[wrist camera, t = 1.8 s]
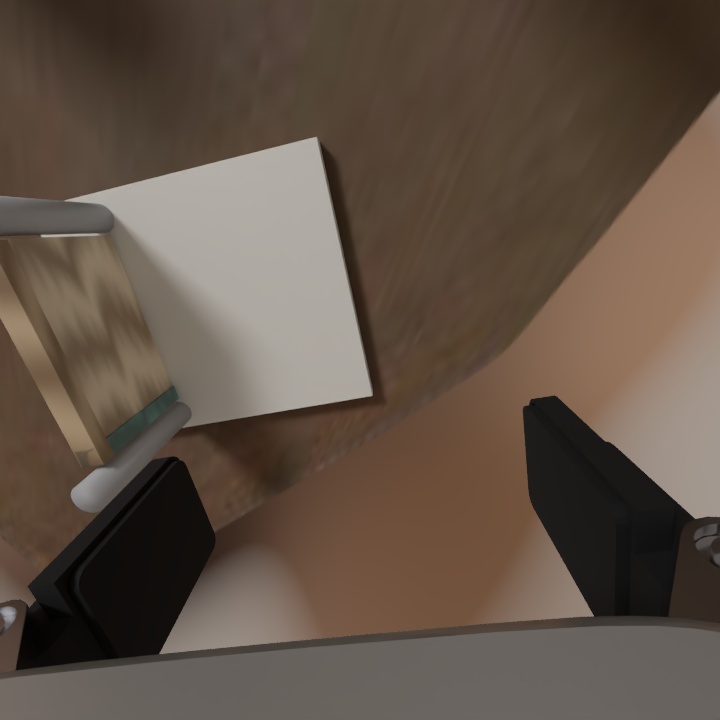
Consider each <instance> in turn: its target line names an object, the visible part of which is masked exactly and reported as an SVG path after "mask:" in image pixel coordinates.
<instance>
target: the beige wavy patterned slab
mask: <svg viewBox="0 0 720 720" xmlns="http://www.w3.org/2000/svg"><path fill="white" fill-rule="evenodd" d="M0 318H1V320H2V322H3V323H4V325H5V327H6V329H7V331H8V333H9V335H10V336H11V338H12V340H13V342H14V344H15V346H16V347H17V349H18V351H19V353H20V355H21V357H22V359H23V360H24V362H25V364H26V366H27V368H28V370H29V371H30V373H31V375H32V377H33V379H34V381H35V383H36V384H37V386H38V388H39V390H40V392H41V394H42V395H43V397H44V399H45V401H46V403H47V405H48V407H49V408H50V410H51V412H52V414H53V416H54V418H55V419H56V421H57V423H58V425H59V427H60V429H61V431H62V432H63V434H64V436H65V438H66V440H67V442H68V443H69V445H70V447H71V449H72V451H73V453H74V455H75V456H76V458H77V460H78V462H79V464H80V466H81V467H82V468H85V467H91V466H97V465H104V464H105V463H106V462H107V461H108V460H110V459H111V458H112V457H113V456H114V455H115V454H116V453H117V452H118V451H119V450H120V449H121V448H122V447H124V446H125V445H126V444H127V443H128V442H129V441H131V440H132V439H133V438H134V437H135V436H136V435H137V434H139V433H140V432H141V431H142V430H143V429H144V428H146V427H147V426H148V425H149V424H150V423H151V422H153V421H154V420H155V419H156V418H157V417H158V416H159V415H161V414H162V413H163V412H164V411H165V410H166V409H168V408H169V407H170V406H171V405H172V404H173V403H174V402H176V401H177V400H178V399H179V397H178V395H177V392H176V390H175V387H174V386H172V385H171V382H170V380H169V377H168V375H167V373H166V370H165V368H164V365H163V363H162V360H161V358H160V356H159V353H158V351H157V348H156V346H155V343H154V341H153V338H152V336H151V334H150V331H149V329H148V326H147V324H146V321H145V319H144V316H143V314H142V312H141V309H140V307H139V304H138V302H137V299H136V297H135V295H134V292H133V290H132V287H131V285H130V282H129V280H128V277H127V275H126V273H125V270H124V268H123V265H122V263H121V260H120V258H119V256H118V253H117V251H116V248H115V246H114V243H113V241H112V238H111V236H110V235H99V236H70V237H40V238H10V239H0Z"/></svg>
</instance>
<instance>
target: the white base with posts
mask: <svg viewBox="0 0 720 720" xmlns="http://www.w3.org/2000/svg"><path fill="white" fill-rule="evenodd" d="M17 235H41V237H70V236H99V235H110V236H111V238H112V241H113V243H114V246H115V248H116V251H117V253H118V256H119V258H120V260H121V263H122V265H123V268H124V270H125V273H126V275H127V277H128V280H129V282H130V285H131V287H132V290H133V292H134V295H135V297H136V299H137V302H138V304H139V307H140V309H141V312H142V314H143V316H144V319H145V321H146V324H147V326H148V329H149V331H150V334H151V336H152V338H153V341H154V343H155V346H156V348H157V351H158V353H159V356H160V358H161V360H162V363H163V365H164V368H165V370H166V373H167V375H168V377H169V380H170V382H171V385H172V386H174V387H175V390H176V392H177V395H178V397H179V399H178V400H177V401H176V402H174V403H173V404H172V405H171V406H170V407H169V408H168V409H166V410H165V411H164V412H163V413H162V414H161V415H159V416H158V417H157V418H156V419H155V420H154V421H153V422H151V423H150V424H149V425H148V426H147V427H146V428H144V429H143V430H142V431H141V432H140V433H139V434H137V435H136V436H135V437H134V438H133V439H132V440H131V441H129V442H128V443H127V444H126V445H125V446H124V447H122V448H121V449H120V450H119V451H118V452H117V453H116V454H115V455H114V456H113V457H112V458H111V459H110V460H108V461H107V462H106V463H105V464H104V465H100V466H99V467H98V468H97V469H96V470H94V471H93V472H92V473H91V474H90V475H89V476H87V477H86V478H85V479H84V480H83V481H82V482H81V483H79V484H78V485H77V486H76V487H75V488H74V489H73V490H72V492H71V498H72V501H73V502H74V504H75V505H76V506H77V507H78V508H80V509H81V510H83V511H86V512H91V513H95V512H99V511H101V510H102V509H103V508H104V507H105V506H106V505H107V504H108V503H109V502H110V501H111V500H112V499H113V498H114V497H115V496H116V495H117V494H118V493H119V491H120V490H121V489H122V488H123V487H124V486H125V485H126V484H127V483H128V482H129V481H130V480H131V479H132V478H133V477H134V476H135V475H136V474H137V473H138V472H139V471H140V470H141V469H142V468H143V467H144V466H145V465H146V464H147V463H148V462H149V461H150V460H151V459H152V458H153V457H154V456H155V455H156V454H157V453H158V452H159V450H160V449H161V448H162V447H163V446H164V445H165V444H166V443H167V442H168V441H169V440H170V439H171V438H172V437H173V436H174V435H175V434H176V433H177V432H178V431H179V430H180V429H181V428H185V427H191V426H197V425H202V424H208V423H214V422H220V421H226V420H232V419H238V418H244V417H250V416H256V415H262V414H268V413H274V412H280V411H286V410H292V409H298V408H304V407H310V406H316V405H321V404H327V403H333V402H339V401H345V400H351V399H357V398H363V397H369V396H373V388H372V384H371V379H370V374H369V370H368V365H367V360H366V356H365V351H364V346H363V342H362V337H361V332H360V328H359V323H358V318H357V314H356V309H355V304H354V300H353V295H352V290H351V286H350V281H349V276H348V272H347V267H346V262H345V258H344V253H343V248H342V244H341V239H340V234H339V230H338V225H337V220H336V216H335V211H334V206H333V202H332V197H331V192H330V188H329V183H328V178H327V174H326V169H325V164H324V160H323V155H322V150H321V146H320V141H319V140H318V138H317V137H314V138H310V139H306V140H302V141H298V142H294V143H290V144H286V145H282V146H278V147H274V148H270V149H266V150H263V151H259V152H255V153H251V154H247V155H243V156H239V157H235V158H231V159H227V160H223V161H219V162H215V163H211V164H207V165H203V166H199V167H195V168H191V169H187V170H184V171H180V172H176V173H172V174H168V175H164V176H160V177H156V178H152V179H148V180H144V181H140V182H136V183H132V184H128V185H124V186H120V187H116V188H112V189H109V190H105V191H101V192H97V193H93V194H89V195H85V196H81V197H77V198H73V199H69V200H65V201H57V200H45V199H32V198H20V197H7V196H0V236H17Z"/></svg>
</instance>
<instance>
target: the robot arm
mask: <svg viewBox="0 0 720 720" xmlns="http://www.w3.org/2000/svg"><path fill="white" fill-rule="evenodd" d="M523 420H524V433H525V447H526V461H527V475H528V489H529V496H530V500H531V503H532V506H533V508H534V510H535V511H536V513H537V515H538V517H539V519H540V520H541V522H542V524H543V526H544V527H545V529H546V531H547V533H548V535H549V536H550V538H551V540H552V541H553V543H554V545H555V547H556V549H557V551H558V552H559V554H560V556H561V558H562V559H563V561H564V563H565V565H566V567H567V568H568V570H569V572H570V574H571V576H572V577H573V579H574V581H575V583H576V585H577V586H578V588H579V590H580V592H581V593H582V595H583V597H584V599H585V601H586V602H587V604H588V606H589V608H590V609H591V611H592V613H593V615H594V617H573V618H559V619H546V620H533V621H532V620H531V621H517V622H503V623H489V624H477V625H466V626H455V627H443V628H432V629H422V630H410V631H399V632H389V633H388V632H387V633H377V634H365V635H354V636H343V637H332V638H322V639H312V640H301V641H291V642H280V643H270V644H259V645H249V646H238V647H228V648H218V649H207V650H197V651H187V652H178V653H168V654H159V653H160V651H161V649H162V647H163V645H164V643H165V642H166V640H167V638H168V636H169V634H170V632H171V630H172V628H173V626H174V624H175V622H176V620H177V618H178V616H179V614H180V613H181V611H182V609H183V607H184V605H185V603H186V601H187V599H188V597H189V595H190V593H191V591H192V589H193V588H194V586H195V584H196V582H197V580H198V578H199V576H200V574H201V572H202V570H203V568H204V566H205V564H206V562H207V561H208V559H209V557H210V555H211V553H212V551H213V549H214V546H215V533H214V531H213V528H212V526H211V524H210V521H209V519H208V517H207V514H206V512H205V509H204V507H203V505H202V502H201V500H200V497H199V495H198V493H197V490H196V488H195V485H194V483H193V481H192V478H191V476H190V473H189V471H188V469H187V466H186V464H185V463H184V462H183V461H181V460H179V459H178V458H177V457H174V456H173V457H166V458H160V459H155V460H152V461H151V462H150V463H149V464H148V465H147V466H146V467H145V468H144V469H143V470H142V471H141V472H140V473H139V474H138V475H137V476H136V477H135V478H134V479H133V480H132V481H131V482H130V483H129V484H128V485H127V486H126V487H125V488H124V489H123V490H122V491H121V492H120V493H119V494H118V495H117V496H116V497H115V498H114V499H113V500H112V501H111V502H110V503H109V504H108V505H107V506H106V507H105V508H104V509H103V510H102V512H101V513H100V514H99V515H98V516H97V517H96V518H95V519H94V520H93V521H92V522H91V523H90V524H89V525H88V526H87V527H86V528H85V529H84V530H83V531H82V532H81V533H80V534H79V535H78V536H77V537H76V538H75V539H74V540H73V541H72V542H71V543H70V544H69V545H68V546H67V547H66V548H65V549H64V550H63V551H62V552H61V553H60V554H59V555H58V556H57V557H56V558H55V559H54V560H53V561H52V562H51V563H50V564H49V565H48V566H47V567H46V568H45V569H44V570H43V571H42V572H41V573H40V574H39V575H38V577H36V578H35V579H34V580H33V581H32V583H30V585H28V588H29V589H30V591H31V592H32V594H33V595H34V597H35V598H36V601H35V602H34V603H33V605H31V607H30V608H29V607H28V605H27V604H26V603H25V602H24V601H22V600H10V601H6V602H3V603H0V720H720V517H704V518H699V519H695V518H693V517H692V516H691V515H690V514H689V513H688V512H687V511H686V510H685V509H683V508H682V507H681V506H680V505H679V504H678V503H677V502H676V501H675V500H673V499H672V498H671V497H670V496H669V495H668V494H667V493H666V492H665V491H664V490H663V489H662V488H660V487H659V486H658V485H657V484H656V483H655V482H654V481H653V480H652V479H651V478H649V477H648V476H647V475H646V474H645V473H644V472H643V471H642V470H641V469H640V468H638V467H637V466H636V465H635V464H634V463H633V462H632V461H631V460H630V459H629V458H627V457H626V456H625V455H624V454H623V453H622V452H621V451H620V450H618V448H616V447H615V446H614V445H612V444H611V443H609V442H605V441H604V440H603V439H602V438H601V437H599V436H598V435H597V434H596V433H595V432H594V431H593V430H592V429H591V428H590V427H589V426H588V425H587V424H586V423H584V422H583V421H582V420H581V419H580V418H579V417H578V416H577V415H576V414H575V413H574V412H573V411H572V410H570V409H569V408H568V407H567V406H566V405H565V404H564V403H563V402H562V401H561V400H560V399H559V398H558V397H556V396H549V397H543V398H536V399H531V401H530V404H529V406H524V407H523Z"/></svg>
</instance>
